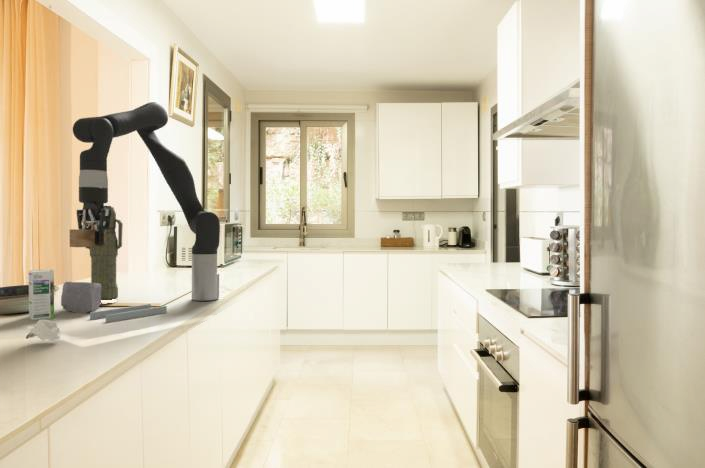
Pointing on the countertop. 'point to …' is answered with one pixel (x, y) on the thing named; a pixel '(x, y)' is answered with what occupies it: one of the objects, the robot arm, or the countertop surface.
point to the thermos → (107, 259)
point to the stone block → (81, 296)
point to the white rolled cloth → (45, 330)
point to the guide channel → (128, 312)
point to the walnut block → (84, 238)
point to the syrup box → (41, 294)
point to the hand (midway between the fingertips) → (93, 244)
